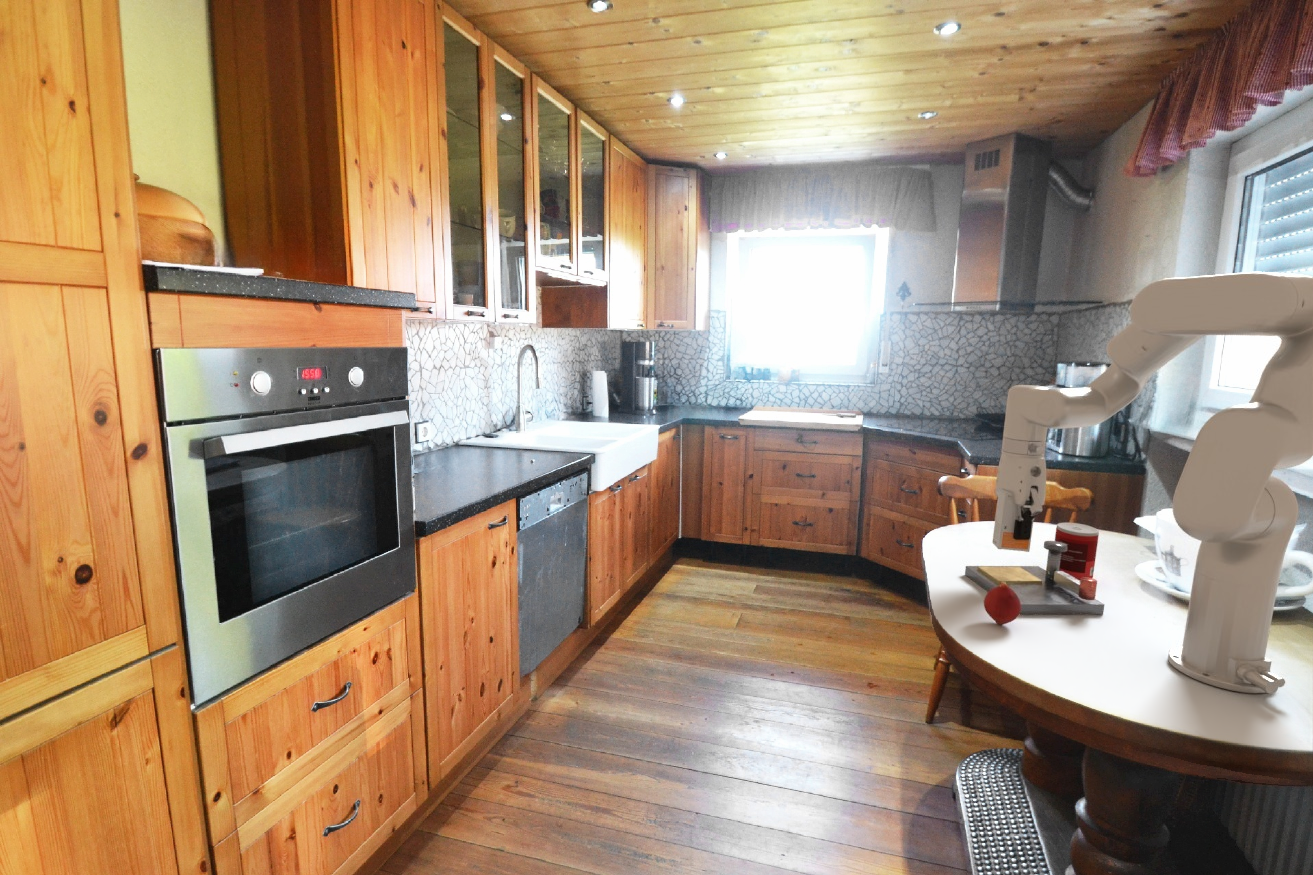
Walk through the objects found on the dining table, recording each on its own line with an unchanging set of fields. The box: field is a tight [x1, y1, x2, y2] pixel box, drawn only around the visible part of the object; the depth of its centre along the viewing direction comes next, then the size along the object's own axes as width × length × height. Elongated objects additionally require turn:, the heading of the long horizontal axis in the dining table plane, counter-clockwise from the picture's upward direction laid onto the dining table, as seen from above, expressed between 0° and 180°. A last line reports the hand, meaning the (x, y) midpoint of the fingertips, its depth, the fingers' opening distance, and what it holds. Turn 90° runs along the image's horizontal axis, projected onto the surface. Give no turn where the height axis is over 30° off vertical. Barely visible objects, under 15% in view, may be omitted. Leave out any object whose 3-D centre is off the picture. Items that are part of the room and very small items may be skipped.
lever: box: [1054, 571, 1098, 600], centre depth 126 cm, size 10×3×4 cm, turn 2°
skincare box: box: [992, 488, 1034, 553], centre depth 133 cm, size 6×4×12 cm
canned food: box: [1054, 522, 1100, 580], centre depth 140 cm, size 8×8×11 cm
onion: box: [983, 581, 1021, 626], centre depth 117 cm, size 6×6×8 cm
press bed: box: [964, 540, 1105, 616], centre depth 131 cm, size 20×16×10 cm
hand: (1013, 533), depth 134 cm, fingers closed on skincare box, 5 cm apart
